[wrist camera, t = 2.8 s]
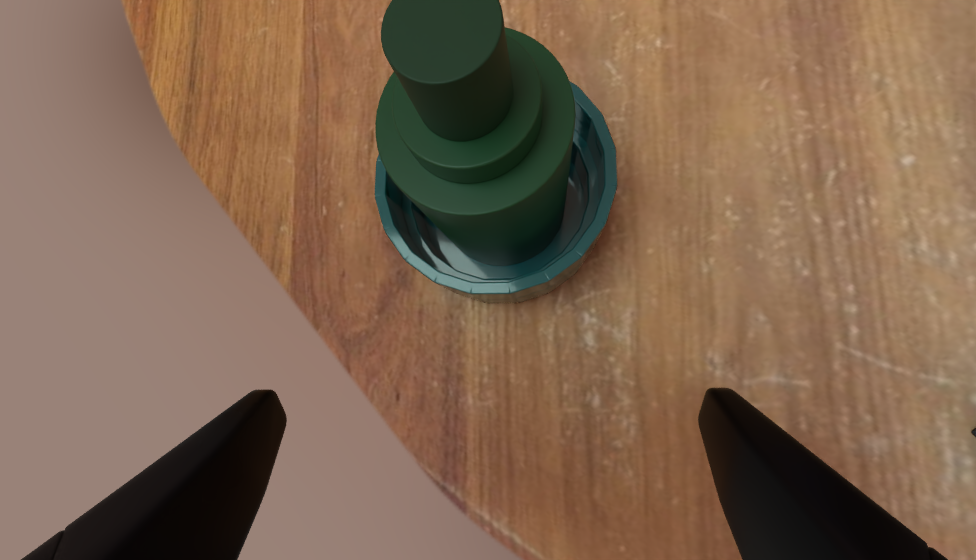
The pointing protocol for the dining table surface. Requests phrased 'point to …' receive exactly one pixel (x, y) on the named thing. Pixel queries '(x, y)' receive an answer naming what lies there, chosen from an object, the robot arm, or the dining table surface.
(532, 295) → the glazed bowl
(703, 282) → the dining table surface
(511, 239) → the bottle
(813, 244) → the dining table surface
